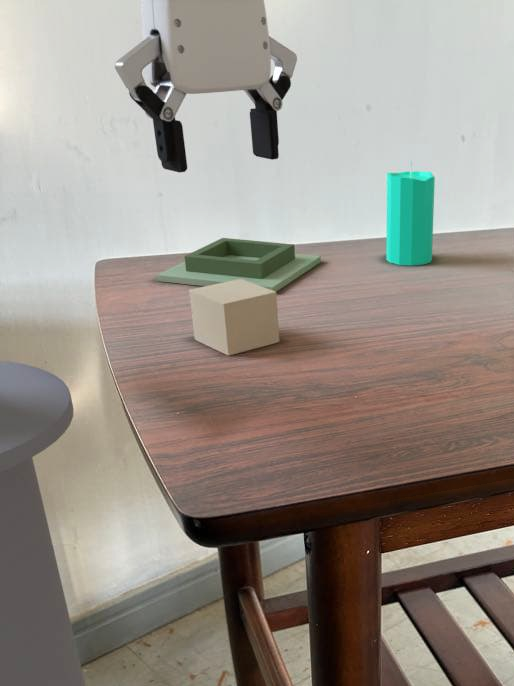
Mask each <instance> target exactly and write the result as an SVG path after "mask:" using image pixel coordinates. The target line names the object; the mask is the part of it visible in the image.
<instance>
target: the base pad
mask: <svg viewBox="0 0 514 686" xmlns="http://www.w3.org/2000/svg"><path fill="white" fill-rule="evenodd" d="M295 250H296V249H295V244H293V243H284V242H283V243H281V242H274V241H273V242H271V241H262V240H261V241H260V240H250V239H240V238H230V237H229V238H228V237H221V238H219V239H217V240H215V241H212V242H211V243H209V244H207V245H205V246H202V247H201V248H199V249H196V250H194V251H192V252H190V253H188V254H186V255H184V261H182V262H180V263H178V264H176V265H174V266H172V267H170V268H168V269H165V270H164V271H161V272H160V273H157V274H156V278H157V279H156V280H157V282H161V283H171V284H179V285H191V286H197V287H198V286H199V287H205V286H209V285H214V284H219V283H224V282H228V281H233V280H238V279H243V280H245V281H248V282H251V283H253V284H256V285H259V286H261V287H264V288H267V289H270V290H272V291H275V292H276V293H277V292H278V291H280V290H281V289H283V288H284V287H286V286H288V285H289V284H290V283H292V282H293V281H295V280H296V279H298V278H299V277H301V276H303V275H304V274H305V273H307V272H308V271H310V270H311V269H313V268H315V267H316V266H317V265H319V264H321V263H322V257H321V255H313V254H302V253H296V251H295Z"/></svg>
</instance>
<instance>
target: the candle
mask: <svg viewBox="0 0 514 686" xmlns="http://www.w3.org/2000/svg"><path fill="white" fill-rule="evenodd" d="M435 179H436V176H434V174H433V173H432V172H431V171H415V170H414V171H413V160H410V170H408V171H401V172H400V171H399V172H386V256H385V257H386V261H388V262H389V263H390V264H394V265H399V266H423V265H426V264H430V263H431V262H432V260H433V240H434V237H433V236H434V233H433V232H434V213H435V212H434V211H435V209H434V208H435V181H436V180H435Z"/></svg>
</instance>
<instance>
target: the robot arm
mask: <svg viewBox="0 0 514 686" xmlns="http://www.w3.org/2000/svg"><path fill="white" fill-rule="evenodd" d="M140 10H141V13H140V14H141V29H142V41H141V42H139V43H138V44H136V45H135V46H134V47H133V48H132V49H130V50H129V51H128V52H126V53H125V54H124V55H123V56H121V57H120V58H119V59H117V60H116V61H115V64H114V69H115V71H116V73H117V74H118V76H119V78H120V80H121V81H122V83H123V85H124V86H125V88H126V89H127V90H128V94H129V97H130V98H131V100H133V101H134V102H135V103H136V104H137V105H138V106H139V107H140V108H141V110H143V111H144V112H145V115H146V116H147V117H148V118H149V119H152V124H153V131H154V139H155V146H156V153H157V158H158V159H159V161H160V163H161V167H162V168H163V170H167V171H171V172H176V173H185V172H186V171H187V170H188V161H187V152H186V144H185V136H184V127H183V123H182V121H181V120H176V115H177V114H178V111H179V109H180V107H181V105H182V103H183V102H184V99H185V98H186V96H187V94H188V95H197V94H213V93H227V92H236V91H244V93H245V94H246V95H247V97H248V98H249V99H250V101H251V102H252V104H253V105H254V108H250V109H249V120H250V121H249V122H250V133H251V134H250V136H251V143H252V144H251V145H252V154H253V155H254V156H255V157H258V158H262V159H268V160H272V161H273V160H278V159H279V157H280V155H279V144H280V138H279V124H278V112H279V111H281V109H282V107H283V100H284V98H285V97H286V95H287V94H288V92H289V91H290V88H291V86H292V81H291V79H292V78H293V74H294V71H295V68H296V65H297V61H298V56H297V54H296V53H295V52H294V51H293V50H291V49H290V48H288V47H287V46H285V45H284V44H282V43H280V42H279V41H278V40H276V39H275V38H274V37H271V36H270V35H269V27H268V18H267V11H266V5H265V0H140ZM272 61H273V62H274V69H273V71H274V72H273V74H272V75H271V73H272ZM144 68H145V70H146V76H147V80H148V82H149V84H150V85H151V86H152V87H153V88H154V89H153V90H152V88H150V86H148V85H147V84H146V82H145V81H146V80H145V78H144V76H143V70H144Z"/></svg>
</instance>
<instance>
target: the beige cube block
mask: <svg viewBox="0 0 514 686" xmlns="http://www.w3.org/2000/svg"><path fill="white" fill-rule="evenodd" d="M188 293H189V301H190V310H191V316H192V317H191V319H192V327H193V336H194V337H193V338H194V341H196V342H199V343H200V344H202V345H205V346H207V347H209V348H211V349H213V350H216V351H217V352H220V353H222V354H224V355H225V356H228V357H229V356H234V355H237V354H240V353H245V352H247V351H248V352H249V351H251V350H255V349H260V348H262V347H266V346H269V345H274V344H278V343H280V326H279V313H278V295H277V292H275V291H272V290H270V289H267V288H264V287H261V286H259V285H256V284H253V283H251V282H248V281H245V280H243V279H238V280H233V281H228V282H224V283H219V284H214V285H209V286H199V287H195V288H190V289H188Z"/></svg>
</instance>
